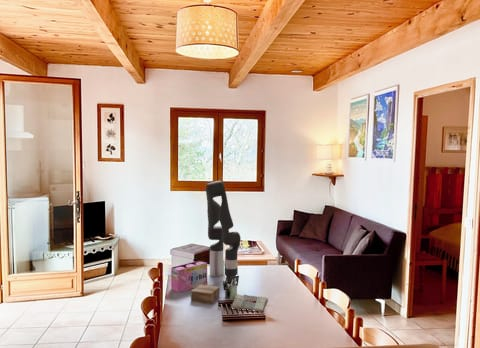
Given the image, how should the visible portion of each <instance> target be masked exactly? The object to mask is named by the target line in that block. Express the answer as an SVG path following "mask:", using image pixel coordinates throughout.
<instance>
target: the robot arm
mask: <svg viewBox="0 0 480 348" xmlns="http://www.w3.org/2000/svg"><path fill="white" fill-rule="evenodd" d="M205 193H206V201H207V204H206V205H207V210H206V212H207V223H208V224H207V237H208V239H209V240H211V241H217V242H216V243H213V244H211V245H210V246H209V276H211V277H214V278H215V277H217V278H218V277H223V276H224V275H225V277H226V278H225V280H223V281H222V287H223V291H224V292H225V291H226V297H225V298H227V297H228V299H230V298H229V297H230V288H231V287H232V285H236V286H237V287H238V286H239V280H240V279H239V278H240V276H239V275H238V273H239V272H238V271H239V270H238V269H239V267H238V266H239V264H238V263H239V262H238V251H239V247H240V244H241V238H242V237H241V235H240V233H239V232H238V231H230V229H232V228H233V227H234V222H233V221H234V220H233V218H232V216H231V212H230V209H229V202H228V196H227V192H226V187H225V184H224V182H223V181H222V180H216V181H212V182H208V183H207V184H206V185H205ZM218 197H221V203H220V204H219V203H218V202H217V201H215V198H218ZM218 223H220V225H219V226H216V225H217V224H218ZM224 245H225V246H228V248H226V249H225V251H224ZM224 252H225V253H224ZM225 287H226V288H225ZM228 287H229V289H228Z"/></svg>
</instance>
